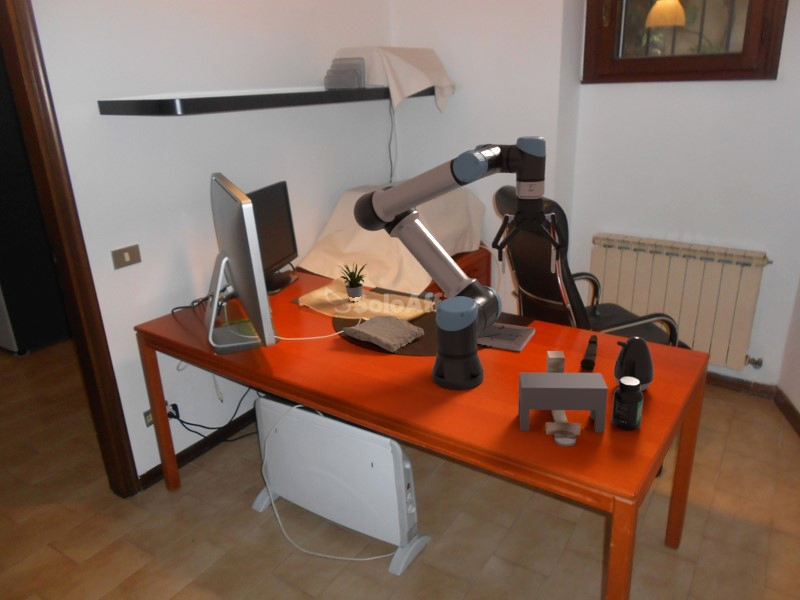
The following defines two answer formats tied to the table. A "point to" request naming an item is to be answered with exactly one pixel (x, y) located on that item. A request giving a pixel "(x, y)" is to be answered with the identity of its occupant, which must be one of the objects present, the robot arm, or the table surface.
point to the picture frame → (506, 336)
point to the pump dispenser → (634, 361)
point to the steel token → (565, 438)
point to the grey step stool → (562, 395)
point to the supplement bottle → (627, 404)
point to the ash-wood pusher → (560, 421)
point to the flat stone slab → (385, 332)
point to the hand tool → (590, 354)
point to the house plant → (353, 282)
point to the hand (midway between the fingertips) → (528, 272)
